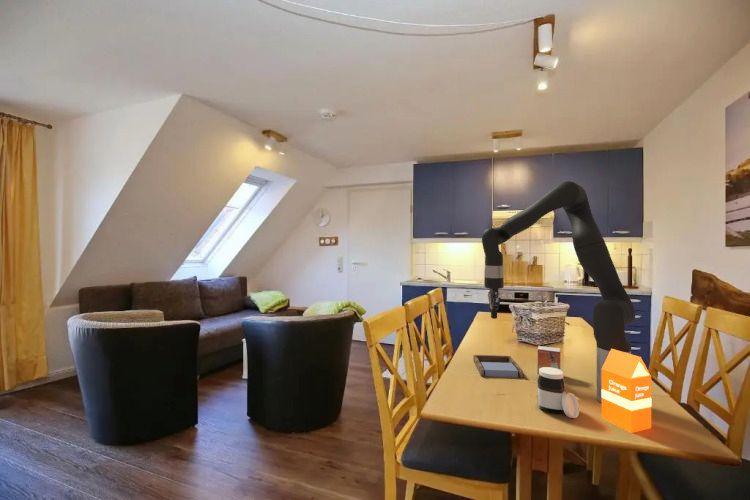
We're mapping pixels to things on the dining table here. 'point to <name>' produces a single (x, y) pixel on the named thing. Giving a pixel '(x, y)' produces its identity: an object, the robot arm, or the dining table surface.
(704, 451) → the dining table surface
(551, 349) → the small box
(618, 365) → the orange juice
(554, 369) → the spread jar
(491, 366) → the cover plate
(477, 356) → the walnut tray
